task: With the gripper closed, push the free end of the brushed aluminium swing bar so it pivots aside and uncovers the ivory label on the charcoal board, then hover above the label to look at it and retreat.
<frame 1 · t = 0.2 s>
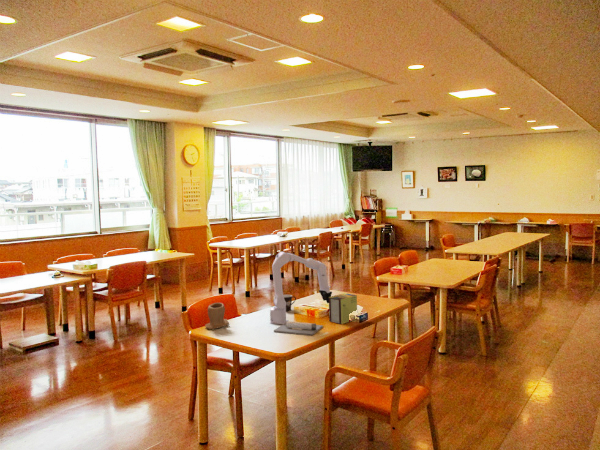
hand: (326, 301, 321), 11 cm above the table, tool pointing down, fingers open, 7 cm apart
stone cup: (218, 327, 307), on the table
coffee mug: (288, 310, 345), on the table
label board: (298, 329, 297), on the table
protein box: (343, 320, 315), on the table
swing bar: (301, 325, 295), point 3 cm above the table, hinge at 0.0°
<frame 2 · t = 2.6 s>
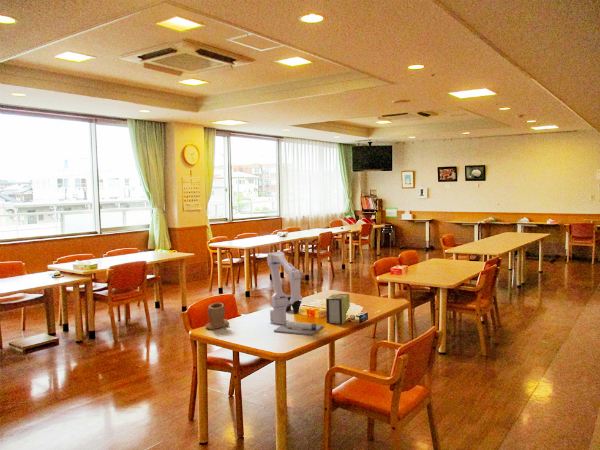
hand: (296, 313, 295), 10 cm above the table, tool pointing down, fingers closed
protein box: (338, 320, 315), on the table
everything else where it was.
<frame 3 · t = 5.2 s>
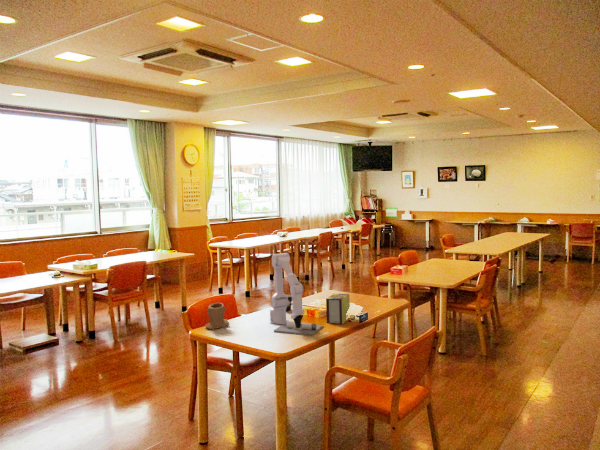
hand: (298, 327, 294), 2 cm above the table, tool pointing down, fingers closed
swing bar: (301, 325, 295), point 3 cm above the table, hinge at 0.9°, touching gripper
everything else where it was.
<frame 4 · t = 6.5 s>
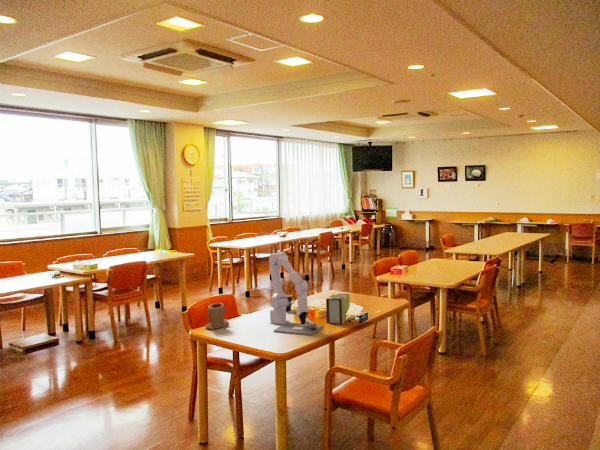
hand: (303, 324, 301), 2 cm above the table, tool pointing down, fingers closed
swing bar: (308, 323, 299), point 3 cm above the table, hinge at 47.0°, touching gripper
everything else where it was.
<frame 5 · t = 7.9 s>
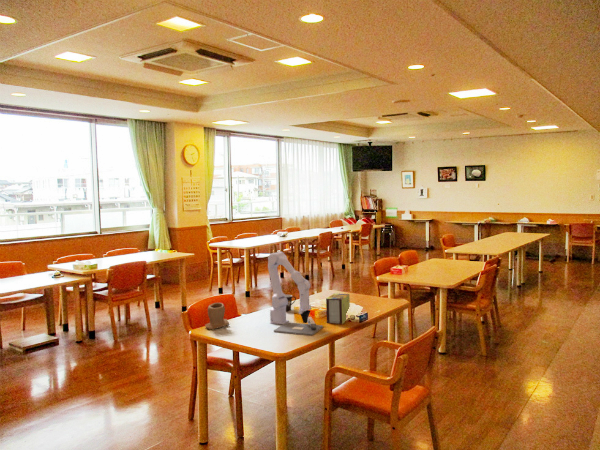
hand: (305, 322, 304), 2 cm above the table, tool pointing down, fingers closed
swing bar: (311, 323, 300), point 3 cm above the table, hinge at 59.1°, touching gripper
everything else where it was.
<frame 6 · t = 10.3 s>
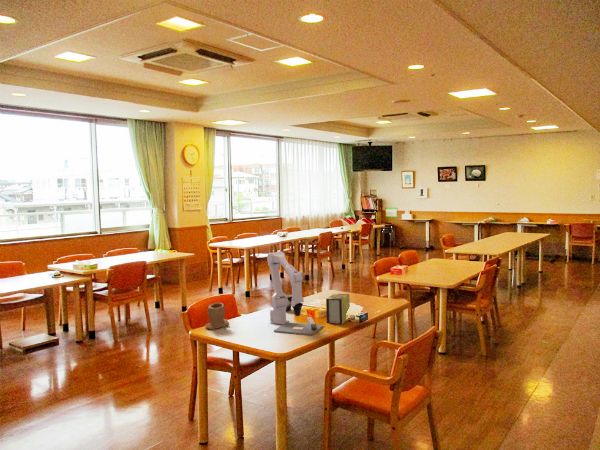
hand: (297, 315, 296), 8 cm above the table, tool pointing down, fingers closed
swing bar: (311, 323, 300), point 3 cm above the table, hinge at 59.1°
everything else where it was.
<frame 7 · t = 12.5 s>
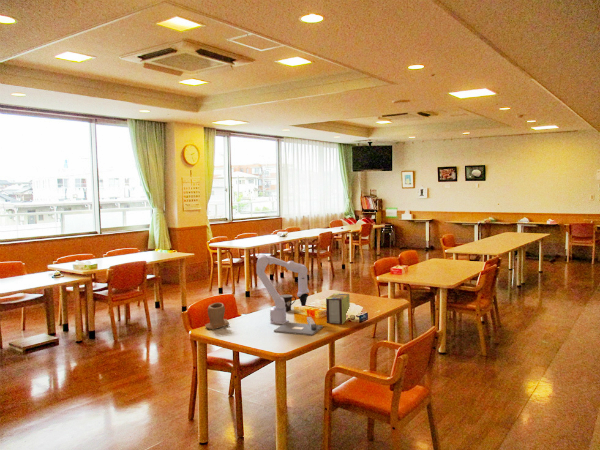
hand: (303, 305, 315), 10 cm above the table, tool pointing down, fingers closed
nothing on the table moved.
at the end: swing bar at +59° (first picture: +0°) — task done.
